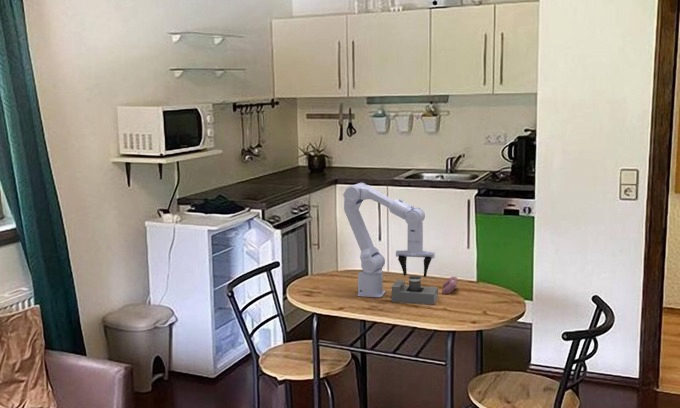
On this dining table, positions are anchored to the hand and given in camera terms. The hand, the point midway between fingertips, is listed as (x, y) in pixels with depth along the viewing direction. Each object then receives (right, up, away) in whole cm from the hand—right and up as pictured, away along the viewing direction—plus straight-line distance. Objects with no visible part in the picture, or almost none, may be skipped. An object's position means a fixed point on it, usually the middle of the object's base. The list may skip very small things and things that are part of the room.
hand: (415, 275), depth 264 cm
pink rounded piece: (+15, -8, +12) cm, 21 cm away
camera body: (0, -9, +1) cm, 9 cm away
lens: (0, -8, +1) cm, 8 cm away
